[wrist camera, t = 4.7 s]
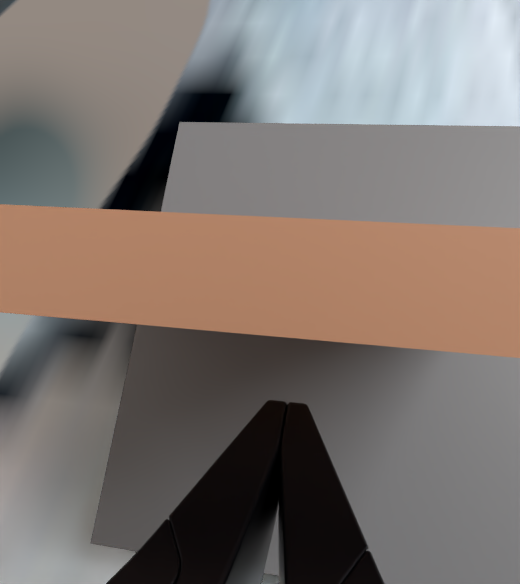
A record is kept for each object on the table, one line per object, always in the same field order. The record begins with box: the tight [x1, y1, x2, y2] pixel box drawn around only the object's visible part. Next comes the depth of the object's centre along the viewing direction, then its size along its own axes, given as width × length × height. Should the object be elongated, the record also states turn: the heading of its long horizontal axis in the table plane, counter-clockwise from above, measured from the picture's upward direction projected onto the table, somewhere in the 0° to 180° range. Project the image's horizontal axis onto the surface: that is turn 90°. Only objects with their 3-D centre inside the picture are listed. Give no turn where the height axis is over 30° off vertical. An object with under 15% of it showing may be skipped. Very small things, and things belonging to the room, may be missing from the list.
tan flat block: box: [0, 204, 520, 358], centre depth 10 cm, size 2×12×9 cm, turn 83°
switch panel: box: [91, 122, 520, 584], centre depth 15 cm, size 16×22×3 cm
